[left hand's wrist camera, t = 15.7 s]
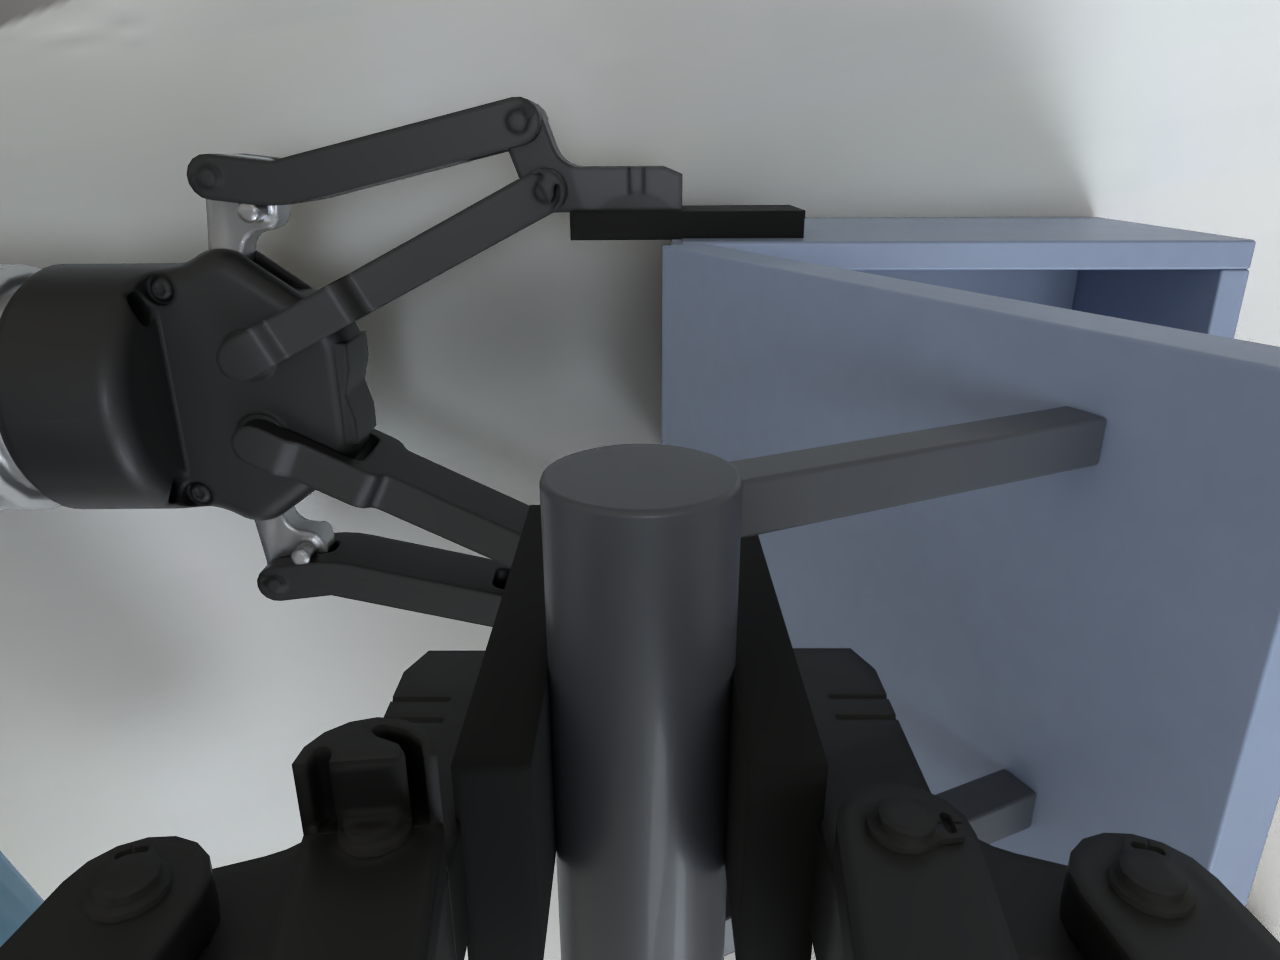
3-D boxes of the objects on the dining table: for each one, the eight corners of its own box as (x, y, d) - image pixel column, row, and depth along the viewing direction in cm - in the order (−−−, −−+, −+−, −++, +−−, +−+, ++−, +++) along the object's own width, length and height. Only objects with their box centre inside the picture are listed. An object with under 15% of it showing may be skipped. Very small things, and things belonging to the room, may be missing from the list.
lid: (1412, 370, 10) (683, 501, 6) (1225, 978, 13) (671, 1302, 9) (702, 242, 23) (347, 260, 20) (695, 553, 27) (388, 618, 23)
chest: (1098, 217, 32) (1257, 240, 24) (1057, 453, 35) (1186, 547, 27) (671, 218, 32) (681, 241, 24) (669, 454, 35) (677, 548, 27)
